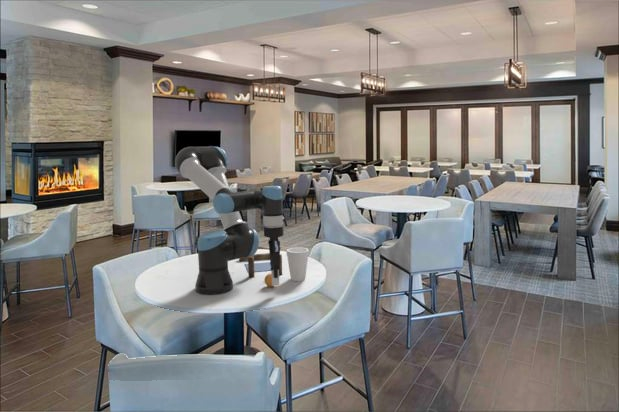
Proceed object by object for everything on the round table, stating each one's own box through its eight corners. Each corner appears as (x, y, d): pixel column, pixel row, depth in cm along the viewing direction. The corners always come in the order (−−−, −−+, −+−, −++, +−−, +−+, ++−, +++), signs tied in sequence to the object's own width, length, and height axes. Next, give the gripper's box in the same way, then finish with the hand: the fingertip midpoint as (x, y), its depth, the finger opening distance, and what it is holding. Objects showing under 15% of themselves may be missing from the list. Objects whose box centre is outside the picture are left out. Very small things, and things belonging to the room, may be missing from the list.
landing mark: (248, 272, 207) (248, 272, 207) (245, 264, 220) (245, 264, 220) (278, 270, 210) (278, 269, 210) (273, 262, 223) (273, 261, 223)
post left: (248, 277, 199) (248, 258, 197) (248, 276, 201) (247, 256, 200) (254, 277, 199) (254, 257, 198) (254, 275, 202) (253, 256, 200)
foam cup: (306, 282, 191) (305, 253, 189) (285, 281, 192) (284, 252, 190) (310, 276, 200) (310, 247, 198) (290, 275, 202) (289, 247, 200)
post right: (277, 275, 202) (276, 255, 200) (276, 273, 204) (275, 254, 203) (282, 274, 202) (282, 255, 201) (281, 273, 205) (281, 254, 203)
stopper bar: (239, 261, 226) (239, 256, 226) (239, 260, 228) (239, 255, 228) (274, 258, 231) (274, 253, 230) (274, 257, 233) (274, 252, 232)
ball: (265, 289, 183) (265, 276, 182) (263, 285, 188) (263, 272, 187) (279, 288, 184) (278, 275, 183) (276, 283, 190) (276, 271, 189)
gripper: (286, 228, 168) (288, 289, 171) (280, 222, 180) (281, 279, 183) (266, 229, 166) (268, 291, 169) (261, 223, 178) (263, 281, 182)
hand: (275, 284), depth 176 cm, fingers closed
